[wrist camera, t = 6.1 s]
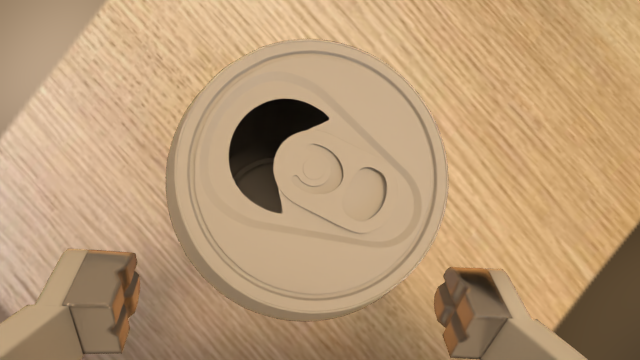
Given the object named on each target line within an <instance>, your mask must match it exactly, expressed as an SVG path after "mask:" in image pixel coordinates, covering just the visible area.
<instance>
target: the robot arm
mask: <svg viewBox="0 0 640 360" xmlns="http://www.w3.org/2000/svg"><path fill="white" fill-rule="evenodd" d="M136 265H137V259H136V254H135V253H131V252H117V251H103V250H85V249H69V248H68V249H67V250H66V251H65V252H64V253H63V254H62V255H61V257H60V259H59V261H58V263H57V265H56V266H55V268H54V270H53V272H52V274H51V276H50V277H49V279H48V281H47V283H46V285H45V287H44V288H43V290H42V292H41V294H40V296H39V298H38V299H37V301H36V303H35V305H26V306H25V307H23V308H22V309H21V310H19V311H18V312H16V313H15V314H13V315H12V316H10V317H9V318H7V319H6V320H4V321H3V322H2V323H0V360H80V359H81V358H82V357H83V356H84V355H83V354H112V353H122V351H123V348H124V345H125V342H126V339H127V336H128V333H129V330H130V326H129V321H128V318H129V317H130V316H131V315H133V314H134V313H135V310H136V307H137V304H138V299H139V293H140V278H139V274H137V273H136V272H135V268H136ZM443 277H444V279H445V283H443V284H442V285H440V286H439V287H438V288H437V291H436V293H435V296H434V309H435V314H436V317H437V320H438V322H440V323H441V324H442V325H443V326H444V327H445V331H444V333H443V338H444V341H445V344H446V347H447V349H448V352H449V355H450V358H468V359H480V360H588V359H586V358H585V357H584V356H583V355H581V354H580V353H579V352H578V351H576V350H575V349H574V348H573V347H571V346H570V345H569V344H568V343H566V342H565V341H564V340H562V339H561V338H560V337H559V336H557V335H556V334H555V333H554V332H552V331H551V330H550V329H549V328H547V327H546V326H545V325H544V324H542V323H541V322H540V321H538V320H537V319H532V318H531V316H530V315H529V313H528V311H527V309H526V307H525V306H524V304H523V302H522V300H521V298H520V297H519V295H518V293H517V291H516V289H515V287H514V286H513V284H512V282H511V280H510V278H509V277H508V275H507V273H506V272H505V271H504V270H503V269H483V268H461V267H450V268H448V269H447V270H446V272H445V274H444V276H443Z"/></svg>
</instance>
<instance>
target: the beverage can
mask: <svg viewBox="0 0 640 360" xmlns="http://www.w3.org/2000/svg"><path fill="white" fill-rule="evenodd" d="M166 196H167V204H168V210H169V215H170V218H171V222H172V225H173V228H174V231H175V233H176V236H177V238H178V240H179V242H180V244H181V246H182V248H183V250H184V252H185V254H186V255H187V257H188V258H189V260H190V261H191V263H192V264H193V265H194V267H195V268H196V269H197V271H198V272H199V273H200V274H201V275H202V277H203V278H204V279H205V280H206V281H207V282H208V283H210V284H211V285H212V286H213V287H214V288H215V289H216V290H217V291H219V292H220V293H221V294H222V295H224V296H225V297H227V298H228V299H230V300H232V301H233V302H235V303H237V304H238V305H240V306H242V307H244V308H246V309H248V310H251V311H253V312H256V313H259V314H262V315H265V316H268V317H273V318H277V319H282V320H290V321H320V320H327V319H333V318H337V317H341V316H344V315H347V314H350V313H353V312H356V311H358V310H360V309H363V308H365V307H367V306H368V305H370V304H372V303H374V302H376V301H377V300H379V299H380V298H382V297H383V296H384V295H386V294H387V293H388V292H390V291H391V290H392V289H393V288H394V287H396V286H397V285H398V284H399V283H401V282H402V281H403V280H404V279H405V278H406V277H407V276H408V275H410V274H411V273H412V272H413V270H414V269H415V268H416V267H417V266H418V265H419V263H420V262H421V261H422V259H423V258H424V257H425V255H426V254H427V252H428V251H429V249H430V247H431V245H432V243H433V242H434V240H435V238H436V236H437V234H438V231H439V228H440V225H441V222H442V219H443V216H444V213H445V208H446V202H447V196H448V164H447V157H446V152H445V148H444V143H443V140H442V137H441V134H440V131H439V128H438V126H437V124H436V121H435V119H434V117H433V115H432V113H431V111H430V110H429V108H428V107H427V105H426V103H425V102H424V100H423V99H422V98H421V96H420V95H419V93H418V92H417V91H416V90H415V89H414V87H413V86H412V85H411V84H410V83H409V82H408V81H407V80H406V79H405V78H404V77H403V76H402V75H401V74H399V73H398V72H397V71H396V70H395V69H393V68H392V67H391V66H389V65H388V64H387V63H385V62H384V61H382V60H380V59H379V58H377V57H375V56H374V55H372V54H370V53H368V52H365V51H363V50H361V49H358V48H356V47H353V46H350V45H346V44H343V43H338V42H334V41H328V40H319V39H297V40H287V41H282V42H278V43H274V44H270V45H266V46H263V47H261V48H258V49H256V50H254V51H252V52H250V53H248V54H246V55H245V56H243V57H241V58H239V59H237V60H236V61H234V62H232V63H231V64H229V65H228V66H226V67H225V68H224V69H222V70H221V71H220V72H219V73H218V74H217V75H216V76H215V77H214V78H213V79H212V80H211V81H210V82H209V83H208V84H207V85H206V86H205V88H204V89H203V90H202V91H201V92H200V93H199V94H198V95H197V96H196V98H195V99H194V100H193V101H192V103H191V104H190V106H189V107H188V108H187V110H186V112H185V113H184V115H183V117H182V119H181V121H180V123H179V125H178V127H177V129H176V132H175V134H174V137H173V140H172V143H171V147H170V150H169V154H168V159H167V167H166Z"/></svg>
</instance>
